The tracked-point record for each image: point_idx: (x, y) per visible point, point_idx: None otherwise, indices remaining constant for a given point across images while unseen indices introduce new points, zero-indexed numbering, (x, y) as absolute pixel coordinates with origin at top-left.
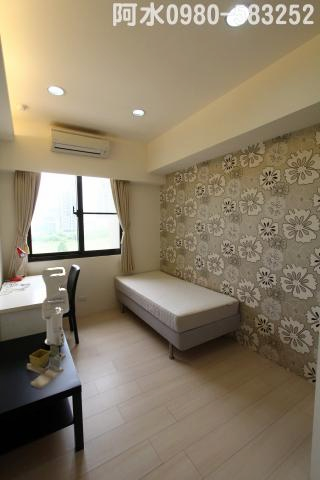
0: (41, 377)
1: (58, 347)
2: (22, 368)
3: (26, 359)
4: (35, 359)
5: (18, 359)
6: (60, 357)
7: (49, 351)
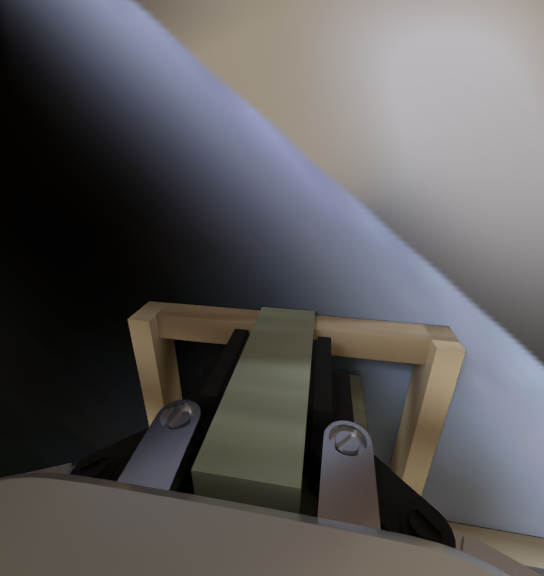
0: None
1: None
2: None
3: (57, 458)
4: None
5: (4, 467)
6: (431, 438)
7: (142, 356)
